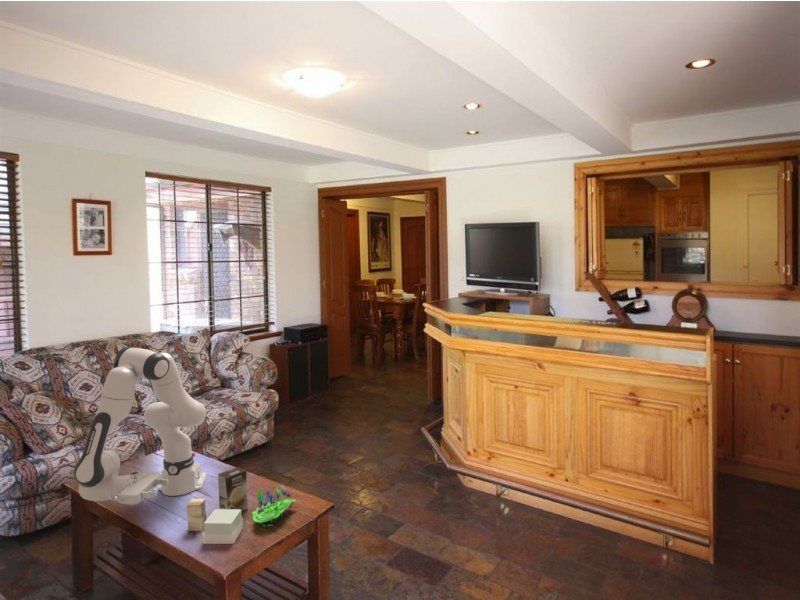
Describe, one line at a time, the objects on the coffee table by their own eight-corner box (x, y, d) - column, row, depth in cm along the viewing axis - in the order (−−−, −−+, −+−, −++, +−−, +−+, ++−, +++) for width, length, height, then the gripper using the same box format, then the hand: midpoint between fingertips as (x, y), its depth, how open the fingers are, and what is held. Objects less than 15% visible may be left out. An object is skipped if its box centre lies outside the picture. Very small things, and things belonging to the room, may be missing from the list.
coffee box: (228, 518, 209) (226, 478, 207) (219, 513, 213) (217, 474, 211) (248, 508, 216) (246, 470, 214) (239, 504, 220) (237, 466, 218)
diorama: (240, 523, 205) (238, 492, 203) (281, 502, 220) (280, 474, 219) (263, 535, 196) (262, 502, 195) (304, 512, 212) (303, 482, 211)
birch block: (193, 523, 205) (192, 498, 204) (206, 523, 205) (205, 498, 204) (188, 530, 200) (186, 505, 199) (201, 530, 200) (200, 505, 199)
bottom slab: (214, 528, 202) (213, 518, 202) (243, 528, 202) (242, 518, 201) (202, 545, 191) (202, 534, 191) (233, 545, 191) (232, 534, 190)
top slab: (215, 519, 201) (215, 509, 201) (241, 519, 200) (241, 509, 200) (204, 533, 191) (203, 523, 191) (231, 534, 191) (231, 523, 190)
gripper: (109, 492, 190) (148, 491, 190) (138, 469, 210) (173, 468, 210) (110, 509, 191) (149, 509, 190) (139, 484, 211) (174, 484, 211)
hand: (162, 487), depth 201 cm, fingers open, 8 cm apart
